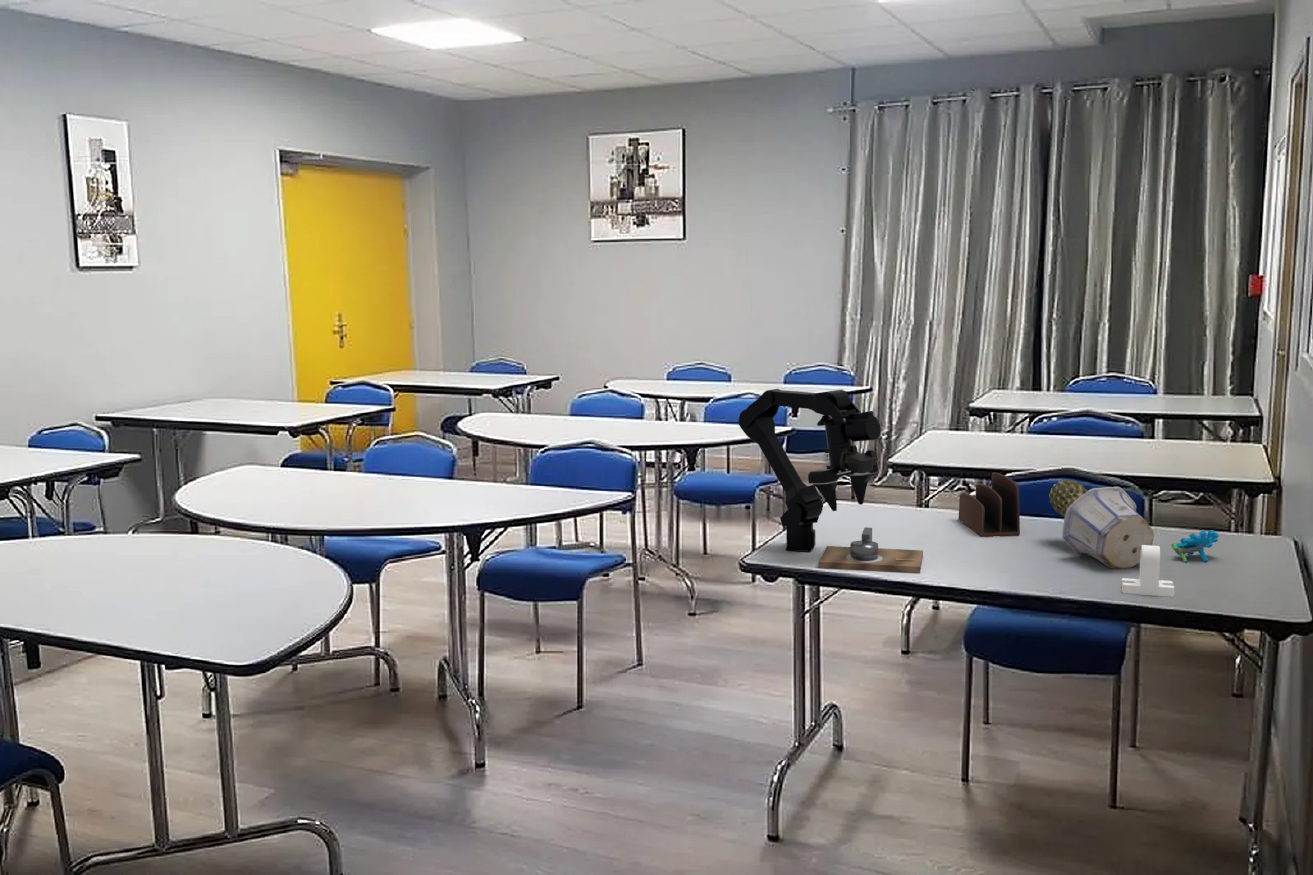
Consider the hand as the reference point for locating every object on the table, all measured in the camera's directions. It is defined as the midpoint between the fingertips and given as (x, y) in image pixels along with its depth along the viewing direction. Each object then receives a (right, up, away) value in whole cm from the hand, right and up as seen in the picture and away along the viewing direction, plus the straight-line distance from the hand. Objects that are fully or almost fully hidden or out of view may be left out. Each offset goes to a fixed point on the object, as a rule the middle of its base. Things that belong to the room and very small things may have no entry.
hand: (847, 507), depth 262 cm
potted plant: (+58, -11, 0) cm, 59 cm away
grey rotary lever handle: (+4, -11, -1) cm, 11 cm away
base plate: (+5, -13, -2) cm, 14 cm away
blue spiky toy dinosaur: (+80, -12, -6) cm, 81 cm away
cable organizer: (+58, -16, -30) cm, 67 cm away
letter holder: (+42, -8, +29) cm, 52 cm away
